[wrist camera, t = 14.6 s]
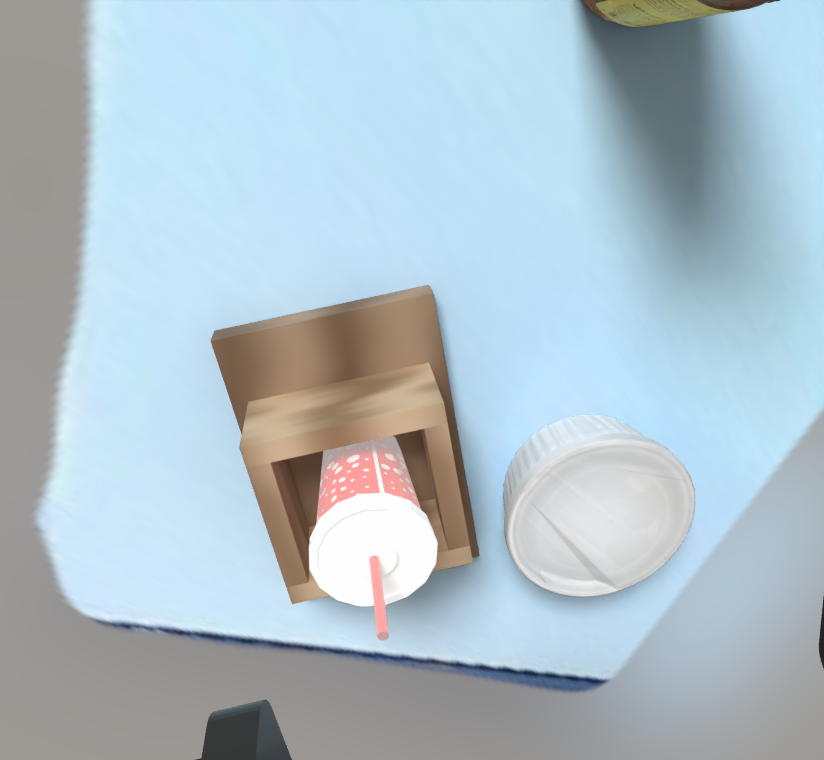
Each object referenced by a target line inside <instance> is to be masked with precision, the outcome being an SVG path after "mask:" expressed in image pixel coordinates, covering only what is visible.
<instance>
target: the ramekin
mask: <svg viewBox="0 0 824 760" xmlns="http://www.w3.org/2000/svg"><path fill="white" fill-rule="evenodd" d="M503 498H504V507H505V521H504V533H505V539H506V543H507V547H508V550H509V552H510V555H511V557H512V559H513V561H514V563H515V564H516V566H517V567H518V568H519V570H520V571H521V572H522V573H523V574H524V575H525V576H526V577H527V578H528V579H529V580H530V581H531V582H533V583H535V584H536V585H538V586H539V587H541V588H544V589H546V590H548V591H551V592H554V593H557V594H562V595H567V596H576V597H591V596H599V595H605V594H609V593H613V592H616V591H620V590H623V589H625V588H628V587H630V586H632V585H634V584H636V583H638V582H640V581H642V580H644V579H645V578H647V577H649V576H650V575H651V574H653V573H654V572H656V571H657V570H658V569H659V568H660V567H662V566H663V565H664V564H665V563H666V562H667V561H668V560H669V559H670V558H671V557H672V556H673V554H674V553H675V552H676V551H677V549H678V548H679V547H680V545H681V543H682V542H683V540H684V538H685V537H686V535H687V533H688V531H689V529H690V526H691V523H692V520H693V515H694V510H695V489H694V486H693V483H692V480H691V477H690V475H689V473H688V471H687V470H686V468H685V467H684V465H683V464H682V463H681V461H680V460H679V459H678V458H677V457H676V456H675V455H674V454H673V453H672V452H671V451H670V450H669V449H667V448H666V447H664V446H663V445H661V444H660V443H658V442H656V441H654V440H652V439H649V438H647V437H645V436H644V435H642V434H641V433H640V432H638V431H637V430H635V429H634V428H632V427H631V426H629V425H628V424H626V423H624V422H621V421H620V420H618V419H614V418H611V417H609V416H602V415H590V414H587V415H576V416H571V417H567V418H564V419H560V420H558V421H556V422H553V423H550V424H548V425H547V426H545V427H544V428H542V429H540V430H538V431H537V432H536V433H535V434H534V435H532V436H531V437H530V438H529V439H528V440H527V441H526V442H524V443H523V445H522V446H521V447H520V448H519V450H518V451H517V452H516V454H515V456H514V457H513V459H512V460H511V463H510V465H509V467H508V471H507V473H506V476H505V482H504V492H503Z"/></svg>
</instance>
